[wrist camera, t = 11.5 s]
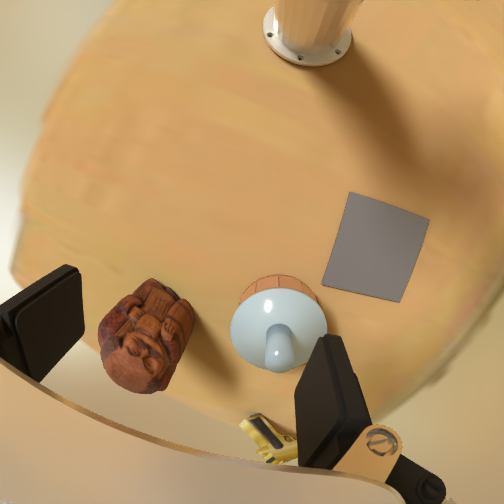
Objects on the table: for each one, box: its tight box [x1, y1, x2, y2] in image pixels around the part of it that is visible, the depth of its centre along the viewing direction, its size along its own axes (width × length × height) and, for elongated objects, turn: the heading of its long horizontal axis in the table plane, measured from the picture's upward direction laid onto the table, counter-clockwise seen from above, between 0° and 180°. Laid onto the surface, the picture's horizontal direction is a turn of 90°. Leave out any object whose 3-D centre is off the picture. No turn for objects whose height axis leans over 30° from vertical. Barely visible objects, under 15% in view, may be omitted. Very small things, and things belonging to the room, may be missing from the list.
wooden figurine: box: [98, 278, 194, 394], centre depth 35 cm, size 12×6×18 cm, turn 50°
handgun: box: [239, 413, 298, 465], centre depth 49 cm, size 2×19×12 cm
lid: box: [230, 287, 327, 373], centre depth 34 cm, size 13×13×7 cm
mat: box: [321, 192, 430, 302], centre depth 39 cm, size 14×14×1 cm
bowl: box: [239, 275, 317, 305], centre depth 40 cm, size 12×12×6 cm
